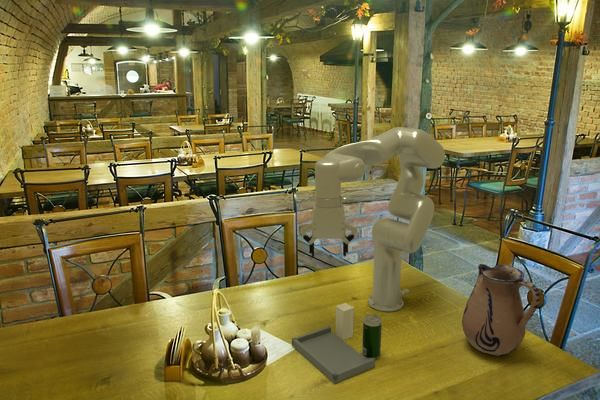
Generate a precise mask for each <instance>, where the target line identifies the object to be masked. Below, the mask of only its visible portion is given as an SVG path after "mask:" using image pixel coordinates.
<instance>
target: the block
mask: <svg viewBox="0 0 600 400" xmlns="http://www.w3.org/2000/svg"><path fill="white" fill-rule="evenodd" d="M354 317H355V307H354V306H352V305H350V304H349V303H348V302H344V303H341V304H338V305H335V330H334V334H335V335H336V336H337V337H339V338H340V339H341V340H343V341H345V340H348V339H351V338H353V337H354V320H355V318H354Z"/></svg>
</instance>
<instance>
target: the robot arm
mask: <svg viewBox="0 0 600 400" xmlns="http://www.w3.org/2000/svg"><path fill="white" fill-rule="evenodd" d="M394 157H397V159H398V162H399V168H400V169H399V170H400V176H399V179H398V181H397V184H396V186H395V189H394V190H393V192H392V194H391V197H390V200H389V202H388V205H387V211H388V213H389V214H390V215H391V216H393V217H395V218H397V219H393V218H388V217H382V218H379V219H377V220H376V221H375V222H374V223H373V226H372V228H371V237H372V243H373V273H372V276H373V277H372V294H371V295H370V296H369V297H368V298H367V305H368V306H370V307H371V308H372V309H375V310H377V311H380V312H397V311H399V310H401V309H402V308H403V307H404V305H405V304H404V299H402V298H403V296H406V295H409V294H410V291H409V289H408V288H405V289H403V290H402V289H401V276H402V275H401V271H402V254H401V252H402V253H406V254H414V253H416V252H417V251H418V250H419V248H420V247H421V245H422V243H423V240H424V238H425V236H426V234H427V232H428V229H429V227H430V225H431V223H432V220H433V218H434V213H435V203H434V201H433V199H432V198H431V197H429V196H426V195H422V194H421V192H422V189H423V187H424V184H425V180H424V179H425V178H424V175H423V172H422V171H421V168H424V169H425V168H426V169H433V170H434V169H438V168H440V167H441V166H442V165H443V164H444V161H445V159H446V150H445V149H444V147H443V145H442V144H441V143H440V142H439V141H437V140H436V139H435V138H434V137H433V136H431V135H430V134H429V133H428V132H426V131H425V130H423V129H420V128H412V127H406V126H405V127H404V126H396V127H393V128H391V129H389V130H387V131H384V132H383V133H381V134H379V135H377V136H375V137H373V138H371V139H366V140H361V141H358V142H354V143H348V144H345V145H342V146H339V147H337V148H335V149H333V150H331V151H330V152H328V153H326V154H325V155H324V156H323V158H322V159H319V160H317V161H316V162H315V165H314V185H315V186H314V190H315V192H314V194H315V196H314V197H315V199H314V200H315V204H313V206H312V210H311V223H310V224H307V225H305V226H303V227H301V228H300V229H299V233H300V235H301V237H302V238H303V240H304V241H305V242H306V243H307V244H308V245H309V247H308V249H309V254H311V258H314V257H315V241H317V240H328V239H329V240H337V239H341V240H342V241H343V242H342V254H343V257H345V258H346V257H347V254H348V253H349V244H350V243H351V241H353V239H354V238H355V237H356V234H357V233H358V228H357V227H355V226H353V225H351V224H349V223H347V222H346V215H345V213H346V212H345V208H344V204H343V203H346V202H347V197H345V196H342V184H343V183H355V182H358V181H359V180H361V179H362V178H363V177H364V175H365V174H366V169H367V168H366V166H378V165H382V164H384V163H386V162H387V161H389V160H391V159H392V158H393V159H394ZM420 167H421V168H420ZM398 218H399V219H402V220H404V221H409V222H408V223H407V222H403V221H401V220H398ZM310 230H311V235H310V236H309V235H308V234H307V233H306V232H308V231H310ZM346 230H348V231H350V234H349V235H346V232H347V231H346Z"/></svg>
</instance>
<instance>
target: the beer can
mask: <svg viewBox="0 0 600 400" xmlns="http://www.w3.org/2000/svg"><path fill="white" fill-rule="evenodd" d="M382 327H383V321H382V317H380V316H379V315H376V314H373V313H372V314H366V315H365V316H364V317H363V321H362V340H361V341H362V342H361V343H362V344H361V355H363V356H364V357H366V358H367V359H371V358H374V359H375V360H378V359H379V358H380V357H381V351H382V350H381V349H382V329H383V328H382Z"/></svg>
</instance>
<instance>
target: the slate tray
mask: <svg viewBox="0 0 600 400" xmlns="http://www.w3.org/2000/svg"><path fill="white" fill-rule="evenodd" d="M291 346H292V347H293V348H294V349H295V350H296V351H297V352H299V353H300V354H301V355H302V356H303V357H304V358H305V359H307V361H309V362H310V363H311V364H312V365H313V366H314V367H315V368H317V370H319V371H320V372H321V373H322V374H323V375H324V376H326V378H328V379H329V380H330V381H331V382H332V383H333V384H337V383H340V382H342V381H344V380H345V381H346V380H348V379H349V378H352V377H353V376H356V375H359V374H361V373H363V372H365V371H368V370H371V369H372V368H375V366H376V359H374V358H371V359H367V358H366V357H364V356H363V354H362V353H360V352H359V351H358V350H356V349H355V348H354V347H352V346H351V345H349V343H347V342H345V340H342V339H341V338H339V337H338V336H337V335H335V333H334V332H332V327H331V325H328V326H324V327H321V328H319V329H316V330H313V331H310V332H306V333H305V334H301V335H300V336H296V337H293V338H291Z"/></svg>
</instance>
